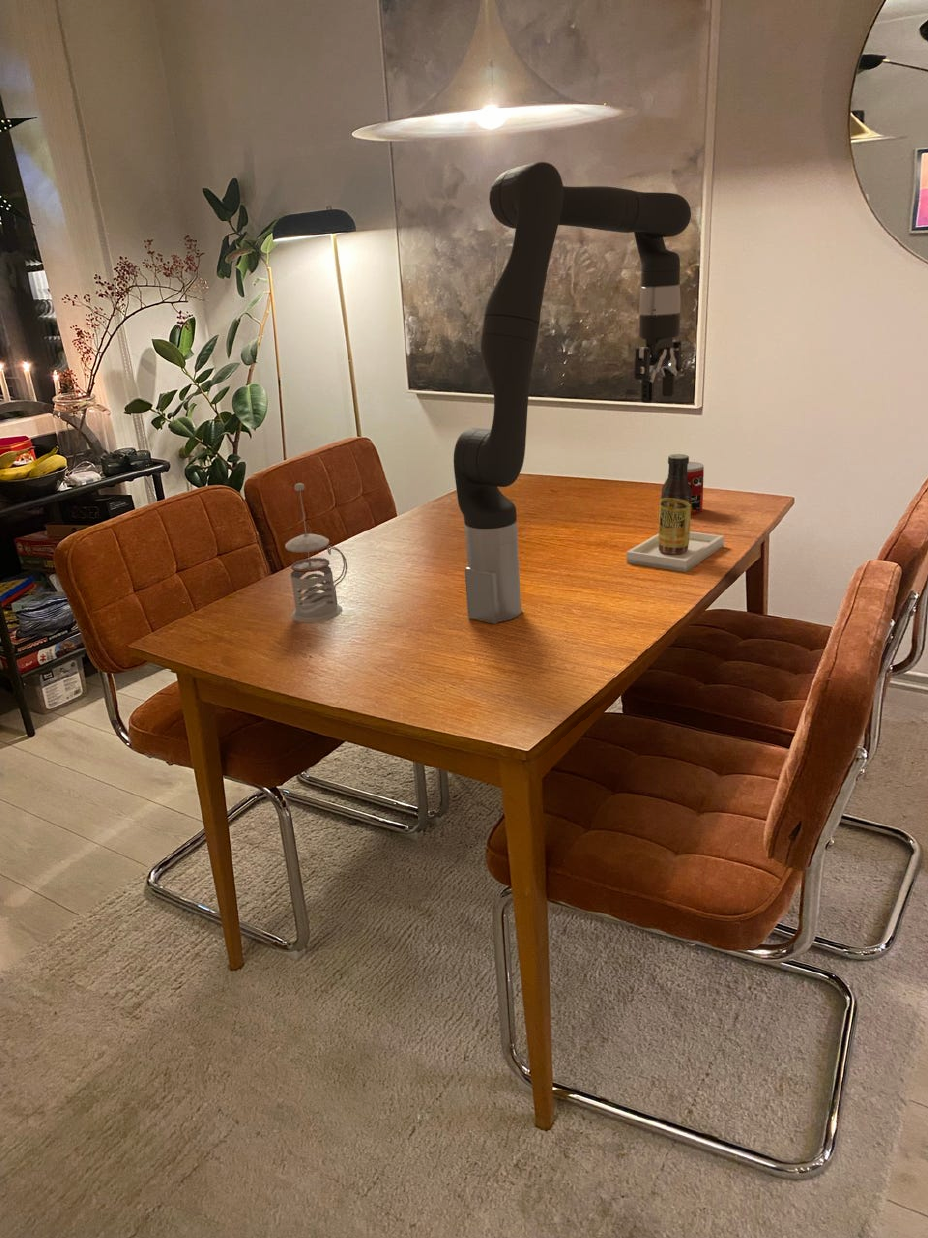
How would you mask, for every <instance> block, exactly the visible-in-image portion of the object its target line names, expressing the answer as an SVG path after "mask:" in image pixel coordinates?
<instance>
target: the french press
mask: <svg viewBox="0 0 928 1238" xmlns="http://www.w3.org/2000/svg"><path fill="white" fill-rule="evenodd" d="M303 490H305V484H304V483H302V482H297V483H295V485H294V491H296V492H298V491H299V497H300V503H301V510H302V511H301V513H302V518H303V525H304V526H303V527H304V532H305V533H303V534H300V535H298V536H295V537H293V538H291V539H290V540H289V541H287V542H286V543H285V550H287V551H288V552H292V553H307V555H308V558H304V559H299V560H297V561H294V562H293V563H292V564H291V565H290V569H291V570H292V571H291V573H290V580H291V587H292V593H293V599H294V600H293V601H294V607H295V609H294V610H293V611H292V612H291V614H290V618H291V619H292V620H294V621H295V622H299V623H309V624H310V623H313V624H314V623H320V622H324V621H328V620H332V619H334V618H336V617H339V616H340V615H341V614H342V613H343V607H342V606H340V604H338V596H337V590H336V587H337V586H338V585H340V584H341V583H342V582H343V581H344V579H346V575H347V573H348V562H347V558H346V557H345V555H344V553H343V552H342V551H341V550H340V549H339V548H338V547H335V546H333V545H329V544H330V540H329V538H327V537H326V536H323V535H322V534H321V535H320V534H316V533H307V528H306V521H305V520H306V519H305V512H304V507H303V498H302V492H301V491H303ZM325 548H326V549H327V550H326V551H327V554H328V555H329V556H331V555H332V550H334V551H337V552H338V553H339V554H340V555H341V557H342V560H343V561H342V562H343V567H342V572H341V574H340V576H339V577H337V578H336V579H335V580H334V577H333V570H332V567H330V566H329V565H330V560H328V559H326V558H322V557H314V558H313V557H312V558H311V555H310V552H316V551H319V550H322V549H325ZM312 572H321V573H322V574H323V575H322V574H319V573H312ZM307 573H311V574H307ZM306 574H307V575H306ZM305 575H306V576H305ZM343 575H344V576H343ZM303 576H305V577H304V578H302V577H303ZM341 578H342V579H341ZM340 579H341V580H340ZM339 580H340V581H339ZM319 584H320V585H319ZM318 585H319V586H318ZM303 591H304V592H303ZM318 591H322V592H318ZM302 592H303V593H302ZM303 598H304V599H303Z"/></svg>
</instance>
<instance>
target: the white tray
mask: <svg viewBox="0 0 928 1238" xmlns="http://www.w3.org/2000/svg"><path fill="white" fill-rule="evenodd" d="M658 534H659V532H658V533H657V534H655V535H653V536H651V537H650V538H648V539H646V540H644V541H643V542H640V543H639V544H637V545H635V546H634V547H632V548H631V549H629V550H627V551H626V563H628V564H632V565H633V564H634V565H640V566H645V567H652V568H657V569H663V570H671V571H674V572H675V571H676V572H682V573H687V572H688V571H690V570H691V569H693V568H694V567H696V566H697V565H698V564H700V563H702V562H703V561H704V560H706V559H707V558H709V557H710V556H712V555H713V554H715V553H716V552H718V551H719V550H720V549H722V548H724V547H725V535H722V534H721V535H720V534H714V533H713V534H712V533H706V532H698V531H691V530H690V537H689V545H688V550H687V551H686V552H684V553H682V554H666V553H663V552H661V551H659V548H658V545H659V543H658Z"/></svg>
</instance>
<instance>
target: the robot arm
mask: <svg viewBox="0 0 928 1238" xmlns="http://www.w3.org/2000/svg"><path fill="white" fill-rule="evenodd" d="M489 206H490V210H491V212H492V214H493V216H494V218H495V219H496V220H497V221H498V223H500V224H502V225H503V226H505V227H507V228H510V229H515V232H514V239H513V245H512V248H511V252H510V255H509V257H508V259H507V262H506V264H505V266H504V268H503V270H502V272H501V273H500V275H499V277H498V279H497V281H496V283H495V285H494V287H493V289H492V291H491V292H490V295H489V298H488V299H487V303H486V306H485V311H484V316H483V322H482V330H481V335H480V337H481V338H480V352H481V357H482V361H483V364H484V367H485V368H484V369H485V371H486V374H487V377H488V379H489V382H490V386H491V389H492V393H493V414H492V415H493V416H492V424H491V428H490V429H486V428H470V429H466V430H464V431H463V432H462V433H461V434H460V435H459V437H458V438H457V440H456V443H455V445H454V450H453V471H454V480H455V487H456V495H457V502H458V507H459V510H460V511H461V514H462V517H463V521H464V525H463V526H464V536H465V551H466V564H467V567H465V568H464V583H465V595H466V597H465V599H466V608H467V609H466V610H467V618H468V619H471V620H477V621H481V622H485V623H489V624H492V625H493V624H494V625H495V624H498V623H499V622H500V623H501V622H506V621H509V620H513V619H516V618H517V617H519V616H520V615H521V613H522V597H521V596H522V595H521V577H520V576H521V574H520V573H521V572H520V557H519V537H518V536H519V535H518V518H517V515H518V513H517V507H516V505H515V503H514V502H513V501H511V499H509V498H508V497H506V496H505V495H504V494H503V493H502V492H501V491H500V489H499V488H507V487H510V486H511V485H513V484H514V483H515V482H516V481H517V479H518V478H519V476H520V474H521V472H522V469H523V465H524V461H525V453H526V443H527V442H526V440H527V439H526V438H527V424H528V423H527V422H528V421H527V419H528V405H529V396H530V387H531V381H532V372H533V371H532V370H533V364H534V358H535V354H536V353H535V352H536V348H537V344H538V343H537V342H538V336H539V330H540V329H539V328H540V321H541V314H542V311H541V310H542V306H543V299H544V293H545V287H546V283H547V276H548V270H549V264H550V260H551V255H552V251H553V247H554V243H555V238H556V235H557V232H558V227H559V226H567V227H575V228H576V227H578V228H584V229H585V228H586V229H591V230H597V231H605V232H612V233H613V232H614V233H620V234H621V233H623V234H632V233H633V234H634V238H635V239H634V240H635V244H636V247H637V251H638V255H639V258H640V264H641V269H640V272H641V274H640V278H641V279H640V280H641V281H640V295H639V306H638V307H639V312H638V313H639V318H638V319H639V321H638V324H639V325H638V337H639V338H640V339H642V340H645V345H644V346H637V347H636V349H635V357H634V358H635V361H634V364H635V365H634V380H635V381H639V382H640V384H641V399H640V400H641V402H642V404H650V403H651V404H652V403H653V402H654V389H655V388H654V387H655V384H654V381H655V378H656V376H657V375H656V374H658V373H659V372H660V370H661V372H662V375H663V376H662V392H661V393H662V394H661V395H662V396H663V397H669V398H670V397H673V396H675V379H676V377H677V375H678V373H679V372H680V373H681V371H682V341H681V339H680V340H679V339H677V338H678V337H679V336H680V334H681V333H680V332H681V331H680V329H681V328H680V327H681V291H680V279H681V278H680V277H681V276H680V275H681V270H680V269H681V261H680V255H679V254H678V253H677V252H675V251H672V250H669V249H668V248H667V246H666V243H665V241H664V238H669V237H670V238H671V237H676V236H678V235H680V234H681V233H683V232H685V230H686V229H688V227H689V224H690V223H691V219H692V211H691V207H690V204H689V202H688V201H687V199H685V198H684V197H683V196H681V195H680V194H677V193H674V192H673V193H671V192H652V191H651V192H650V191H649V192H647V191H646V192H645V191H644V192H643V191H637V190H636V191H635V190H632V189H629V188H628V189H627V188H622V187H617V186H606V185H605V186H603V185H602V186H601V185H600V186H599V185H598V186H594V185H591V186H584V185H583V186H569V185H568V186H564V184H563V180H562V177H561V175H560V173H559V171H558V169H557V168H556V167H555V166H554V165H553V164H551V163H549V162H546V161H540V162H538V161H537V162H533V163H528V164H525V165H520V166H516V167H513V168H511V169H508V170H506V171H504V172H503V173H501V174H500V175H499V176H498V177H496V179H494V181H493V182H492V185H491V187H490V191H489Z"/></svg>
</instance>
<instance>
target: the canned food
mask: <svg viewBox="0 0 928 1238" xmlns="http://www.w3.org/2000/svg"><path fill="white" fill-rule="evenodd" d="M704 470H705V469H704V464H703V463H701V462H698V461H697V462H696V461H689V463H688V467H687V481H688V483H689V485H690V487H691V489H692V497H691V502H692V505H691V516H693V515H698V514H700V513H701V512H702V510H703V503H704V501H703V500H704V499H703V498H704V472H705V471H704Z"/></svg>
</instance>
